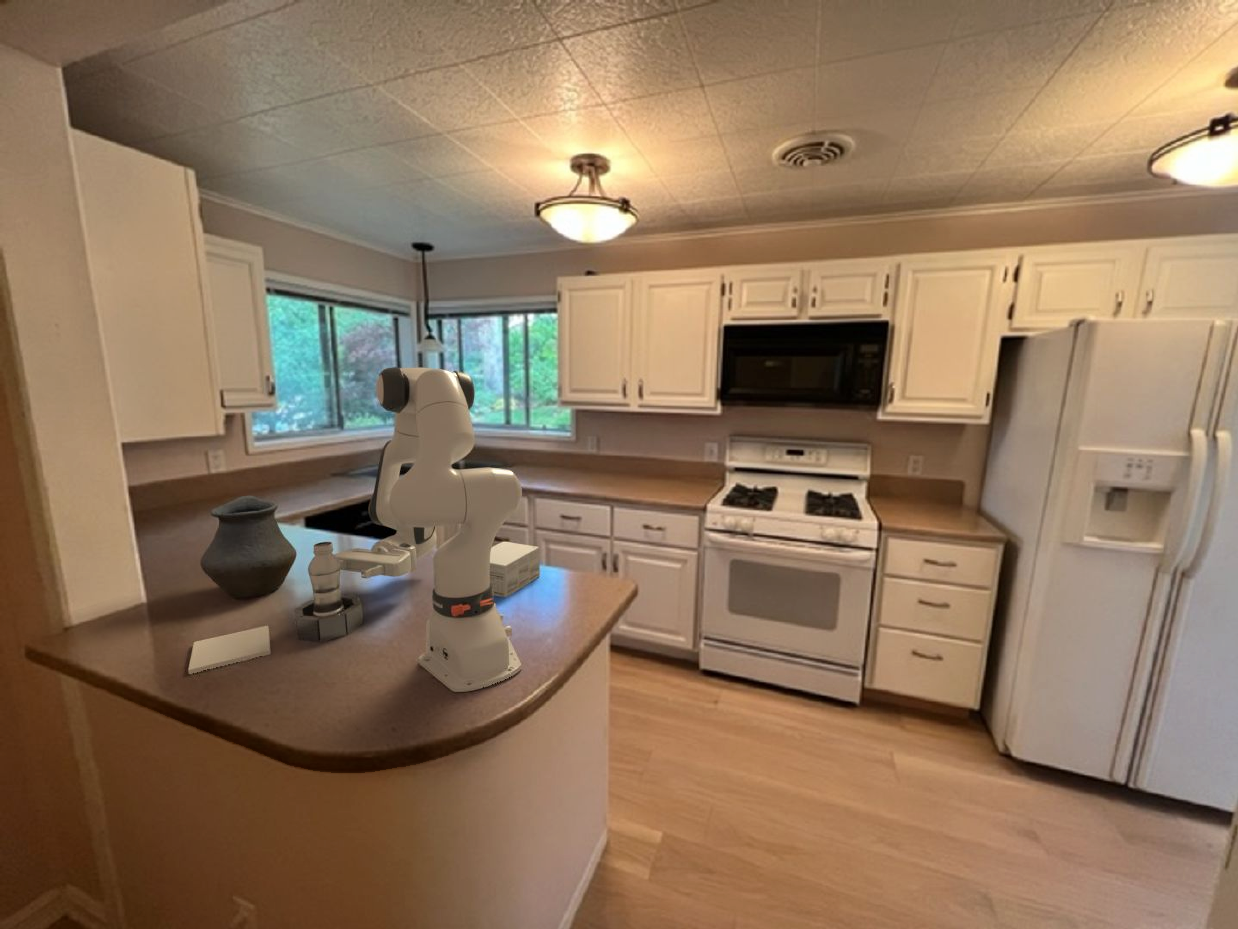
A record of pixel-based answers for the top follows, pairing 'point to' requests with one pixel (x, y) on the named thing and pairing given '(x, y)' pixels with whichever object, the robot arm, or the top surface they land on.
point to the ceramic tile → (229, 649)
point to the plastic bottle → (325, 580)
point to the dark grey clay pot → (248, 549)
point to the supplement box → (512, 567)
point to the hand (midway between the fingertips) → (347, 573)
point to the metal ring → (328, 621)
